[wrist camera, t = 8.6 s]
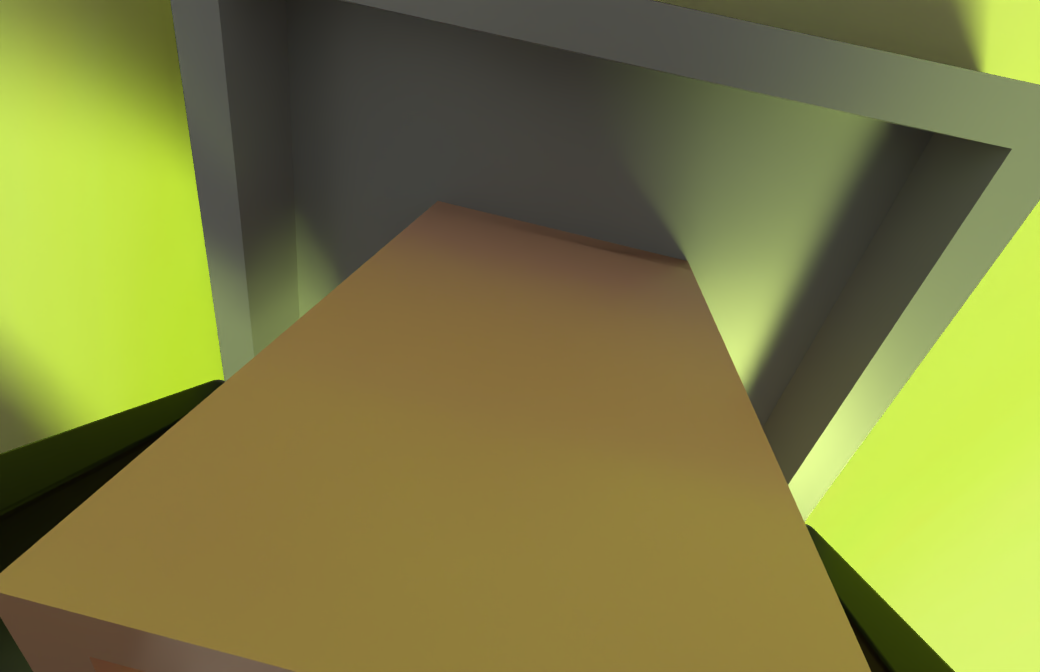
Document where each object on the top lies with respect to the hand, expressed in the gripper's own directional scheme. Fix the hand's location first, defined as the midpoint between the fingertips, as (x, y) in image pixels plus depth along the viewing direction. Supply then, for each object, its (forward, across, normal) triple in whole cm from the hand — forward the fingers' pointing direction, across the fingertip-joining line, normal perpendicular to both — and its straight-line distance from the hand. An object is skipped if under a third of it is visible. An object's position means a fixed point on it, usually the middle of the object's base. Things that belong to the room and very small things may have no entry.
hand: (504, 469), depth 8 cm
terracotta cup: (+4, 0, 0) cm, 4 cm away
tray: (+5, 0, 0) cm, 5 cm away
